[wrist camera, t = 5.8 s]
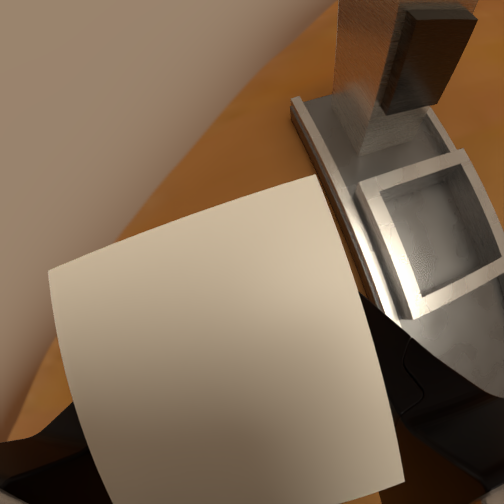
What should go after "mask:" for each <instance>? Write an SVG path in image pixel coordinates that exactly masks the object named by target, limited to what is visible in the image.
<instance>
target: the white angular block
mask: <svg viewBox="0 0 504 504" xmlns="http://www.w3.org/2000/svg"><path fill="white" fill-rule="evenodd" d="M48 277H49V285H50V293H51V300H52V307H53V314H54V320H55V325H56V331H57V336H58V341H59V346H60V351H61V355H62V360H63V364H64V368H65V372H66V376H67V380H68V384H69V388H70V391H71V395H72V398H73V402H74V405H75V408H76V412H77V415H78V418H79V421H80V424H81V427H82V430H83V433H84V436H85V439H86V441H87V444H88V447H89V449H90V452H91V455H92V457H93V460H94V462H95V465H96V467H97V469H98V472H99V474H100V477H101V479H102V481H103V483H104V486H105V488H106V490H107V492H108V494H109V496H110V499H111V501H112V503H113V504H340V503H343V502H347V501H350V500H354V499H357V498H360V497H363V496H367V495H370V494H373V493H375V492H378V491H381V490H384V489H387V488H389V487H392V486H395V485H397V484H400V483H402V482H405V480H404V474H403V468H402V463H401V457H400V452H399V447H398V442H397V437H396V432H395V427H394V423H393V418H392V414H391V409H390V405H389V401H388V397H387V392H386V388H385V384H384V380H383V376H382V373H381V369H380V365H379V361H378V357H377V354H376V350H375V346H374V343H373V339H372V336H371V332H370V329H369V326H368V322H367V319H366V315H365V312H364V309H363V306H362V302H361V299H360V296H359V293H358V290H357V287H356V284H355V281H354V277H353V274H352V271H351V268H350V265H349V263H348V260H347V257H346V254H345V251H344V248H343V245H342V242H341V240H340V237H339V234H338V231H337V229H336V226H335V223H334V220H333V218H332V215H331V212H330V210H329V207H328V205H327V202H326V199H325V197H324V194H323V192H322V189H321V187H320V184H319V182H318V179H317V177H316V174H315V175H311V176H308V177H305V178H301V179H298V180H295V181H292V182H288V183H285V184H282V185H279V186H276V187H272V188H269V189H266V190H263V191H260V192H257V193H254V194H251V195H248V196H245V197H242V198H239V199H236V200H233V201H230V202H227V203H224V204H221V205H218V206H215V207H212V208H209V209H206V210H203V211H201V212H198V213H195V214H192V215H189V216H186V217H184V218H181V219H178V220H175V221H173V222H170V223H167V224H164V225H162V226H159V227H156V228H154V229H151V230H148V231H146V232H143V233H140V234H138V235H135V236H132V237H130V238H127V239H125V240H122V241H120V242H117V243H114V244H112V245H109V246H107V247H104V248H102V249H99V250H97V251H94V252H92V253H89V254H87V255H84V256H82V257H80V258H77V259H75V260H73V261H70V262H68V263H65V264H63V265H61V266H58V267H56V268H54V269H51V270H49V271H48Z"/></svg>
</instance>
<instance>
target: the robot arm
mask: <svg viewBox="0 0 504 504" xmlns="http://www.w3.org/2000/svg"><path fill="white" fill-rule="evenodd" d="M358 293H359V296H360V299H361V302H362V306H363V309H364V312H365V315H366V319H367V322H368V326H369V329H370V332H371V336H372V339H373V343H374V346H375V350H376V354H377V357H378V361H379V365H380V369H381V373H382V376H383V380H384V384H385V388H386V392H387V397H388V401H389V405H390V409H391V414H392V418H393V423H394V427H395V432H396V437H397V442H398V447H399V452H400V457H401V463H402V468H403V474H404V480H405V482H402V483H400V484H397V485H395V486H392V487H389V488H387V489H384V490H381V491H379V495H380V498H381V502H382V504H504V398H503V397H498V396H495V395H492V394H490V393H488V392H486V391H484V390H482V389H481V388H479V387H478V386H476V385H475V384H474V383H472V382H471V381H469V380H468V379H466V378H465V377H463V376H462V375H461V374H459V373H458V372H456V371H455V370H453V369H452V368H450V367H449V366H448V365H446V364H445V363H444V362H442V361H441V360H439V359H438V358H437V357H435V356H434V355H433V354H432V353H430V352H429V351H428V350H427V349H425V348H424V347H423V346H422V345H421V344H420V343H418V342H417V341H416V340H415V339H414V338H411V336H410V335H409V334H408V333H407V332H406V331H404V330H403V329H402V328H401V327H400V326H399V325H398V324H396V323H395V322H394V321H393V320H392V319H391V318H389V317H388V316H387V315H386V314H385V313H384V312H382V311H381V310H380V309H379V308H378V307H376V306H375V305H374V304H373V303H372V302H371V301H369V300H368V299H367V298H366V297H365V296H363V295H362V294H361V293H360V292H359V291H358ZM0 504H113V503H112V501H111V499H110V496H109V494H108V492H107V490H106V488H105V486H104V483H103V481H102V479H101V477H100V474H99V472H98V469H97V467H96V465H95V462H94V460H93V457H92V455H91V452H90V449H89V447H88V444H87V441H86V439H85V436H84V433H83V430H82V427H81V424H80V421H79V418H78V415H77V412H76V408H75V405H74V402H72V403H71V404H70V405H69V406H68V407H67V408H66V409H65V410H64V411H62V412H61V413H60V414H59V415H58V416H57V417H56V418H55V419H54V420H53V421H52V422H51V423H50V424H49V425H48V426H47V427H46V428H44V429H43V430H42V431H41V432H39V433H38V434H36V435H34V436H32V437H29V438H25V439H20V440H14V441H8V442H2V443H0Z"/></svg>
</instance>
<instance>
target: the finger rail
mask: <svg viewBox="0 0 504 504" xmlns="http://www.w3.org/2000/svg"><path fill="white" fill-rule="evenodd" d="M477 2H478V0H339V3H338V24H337V40H336V55H335V68H334V80H333V92H332V94H331V95H328V96H324V97H320V98H317V99H313V100H310V101H306V102H303V101H302V100H301V98H300V96H298V97H295V98H291V106H290V114H291V120H292V122H293V124H294V126H295V128H296V130H297V132H298V134H299V136H300V138H301V140H302V142H303V144H304V146H305V148H306V151H307V153H308V155H309V157H310V159H311V161H312V163H313V165H314V168H315V170H316V172H317V174H318V176H319V178H320V181H321V183H322V185H323V187H324V189H325V192H326V194H327V196H328V199H329V201H330V203H331V205H332V208H333V210H334V212H335V215H336V217H337V220H338V222H339V224H340V227H341V229H342V232H343V234H344V236H345V239H346V241H347V244H348V246H349V249H350V251H351V254H352V257H353V259H354V262H355V264H356V267H357V270H358V272H359V275H360V277H361V280H362V283H363V286H364V288H365V291H366V294H367V297H368V299H369V301H371V302H372V303H373V304H374V305H375V306H376V307H378V308H379V309H380V310H381V311H382V312H384V313H385V314H386V315H387V316H388V317H389V318H391V319H392V320H393V321H394V322H395V323H396V324H398V325H399V326H400V327H401V328H402V329H403V330H404V331H406V332H407V333H408V334H409V335H410V336H411V338H414V339H415V340H416V341H417V342H418V343H420V344H421V345H422V346H423V347H424V348H425V349H427V350H428V351H429V352H430V353H432V354H433V355H434V356H435V357H437V358H438V359H439V360H441V361H442V362H444V363H445V364H446V365H448V366H449V367H450V368H452V369H453V370H455V371H456V372H458V373H459V374H461V375H462V376H463V377H465V378H466V379H468V380H469V381H471V382H472V383H474V384H475V385H476V386H478V387H479V388H481V389H482V390H484V391H486V392H488V393H490V394H492V395H495V396H498V397H503V398H504V232H503V229H502V227H501V225H500V222H499V220H498V217H497V215H496V213H495V210H494V208H493V206H492V204H491V201H490V199H489V197H488V195H487V193H486V191H485V188H484V186H483V184H482V182H481V180H480V178H479V176H478V174H477V172H476V171H475V169H474V167H473V165H472V163H471V161H470V159H469V157H468V156H467V154H466V152H465V150H464V148H462V149H459V150H457V149H456V148H455V146H454V144H453V142H452V141H451V139H450V137H449V136H448V134H447V132H446V131H445V129H444V127H443V126H442V124H441V123H440V121H439V120H438V118H437V116H436V115H435V113H434V112H433V110H432V109H431V107H430V105H434V104H437V103H438V101H439V99H440V97H441V95H442V93H443V91H444V89H445V88H446V86H447V84H448V82H449V80H450V78H451V76H452V74H453V72H454V70H455V68H456V66H457V64H458V62H459V60H460V57H461V55H462V53H463V51H464V49H465V47H466V45H467V43H468V41H469V38H470V36H471V34H472V32H473V30H474V27H475V25H476V23H477V20H478V19H477V18H476V17H475V16H474V15H473V12H474V10H475V7H476V5H477Z"/></svg>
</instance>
